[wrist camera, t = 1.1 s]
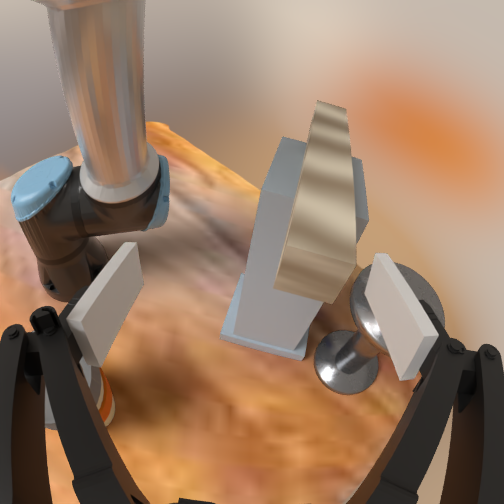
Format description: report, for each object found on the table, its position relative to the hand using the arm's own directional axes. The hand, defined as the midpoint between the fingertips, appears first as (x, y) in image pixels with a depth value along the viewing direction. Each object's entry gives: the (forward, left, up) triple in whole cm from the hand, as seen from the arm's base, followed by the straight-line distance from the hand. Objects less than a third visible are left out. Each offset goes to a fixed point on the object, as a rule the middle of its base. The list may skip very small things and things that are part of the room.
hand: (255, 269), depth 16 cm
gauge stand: (-10, +15, -33) cm, 37 cm away
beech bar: (-8, +13, -3) cm, 16 cm away
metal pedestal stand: (+4, +22, -33) cm, 40 cm away
